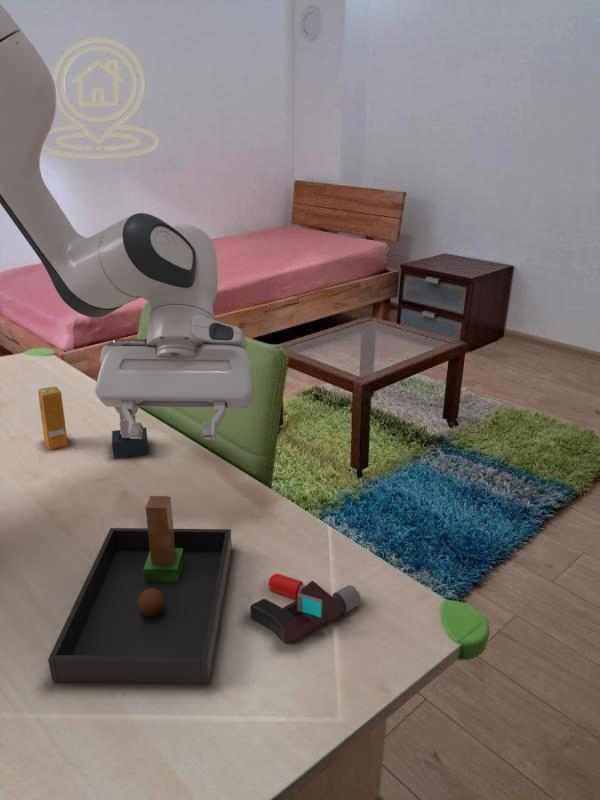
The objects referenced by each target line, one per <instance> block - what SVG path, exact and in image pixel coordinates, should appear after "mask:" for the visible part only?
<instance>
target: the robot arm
mask: <svg viewBox="0 0 600 800" xmlns="http://www.w3.org/2000/svg"><path fill="white" fill-rule="evenodd" d="M56 110H57V89H56V84H55V80H54V78H53V76H52V74H51V72H50V69H49V67H48V65H47V64H46V62H45V60H44V59H43V57H42V56H41V54H40V53H39V51H38V50H37V49H36V48H35V46H34V45H33V44H32V42H31V41H30V40H29V38H28V37H27V36H26V34H25V33H24V31H22V29H21V28H20V26H19V24H17V23H16V21H15V20H14V19H13V17H12V16H11V14H10V13H8V11H7V9H5V8H4V6H3V5H2V4H1V3H0V205H1V207H2V208H3V209H4V211H5V212H6V214H7V215H8V217H9V218H10V219H11V221H12V223H14V225H15V226H16V228H17V229H18V231H19V232H20V233H21V235H22V236H23V237H24V239H25V240H26V242H27V243H28V245H29V246H30V247H31V249H32V250H33V251H34V253H35V254H36V256H37V257H38V259H39V260H40V261H41V264H42V265H43V268H45V270H46V272H47V275H48V276H49V279H50V280H51V282H52V285H53V287H54V289H55V290H56V292H57V294H58V295H59V298H60V299H61V300H62V301H63V302H64V303H65V304H66V305H67V306H68V307H69V308H71V309H72V311H74V312H76V313H78V314H80V315H83V316H85V317H87V318H104V317H105V316H108V315H109V314H111V313H113V312H115V311H116V310H118V309H120V308H122V307H123V306H125V305H126V304H129V303H132V302H135V301H136V300H139V299H143V300H146V301H147V302H148V303H149V305H150V310H149V314H148V322H147V333H146V338H131V339H129V338H128V339H125V338H114V339H113V340H112V341H110V342H108V343H106V344H105V345H104V346H103V347H102V348H101V352H100V359H99V361H100V368H99V371H98V375H97V380H96V384H95V395H96V397H97V398H98V399H99V401H100V402H101V403H102V404H103V405H104V406H105V407H109V408H114V407H122V411H123V413H124V415H125V417H126V419H127V421H128V423H129V426H128V437H129V438H130V439H142V437H143V435H142V432H143V428H144V425H143V424H142V423H141V422H140V421H139V422H138V421H136V422H135V420H136V419H135V420H134V418H133V416H134V415H133V416H132V414H135V415H137V412H138V411H137V407H138V408H183V409H184V408H185V409H186V408H191V409H193V408H194V409H195V408H197V409H203V408H204V409H213V411H214V414H215V415H214V416H213V417H212V419H211V421H210V422H203V426H202V428H203V431H202V438H203V440H212V441H216V440H217V433H218V432H217V430H218V428H219V426H220V425H221V423H222V422H223V421H224V420H225V418H226V416H227V409H248V408H249V407H250V406H251V405H252V404H253V403H254V401H255V389H254V379H253V378H254V377H253V371H252V366H251V365H252V364H251V361H250V357H249V354H248V353H247V342H246V341H247V340H246V338H245V334H244V332H243V330H242V329H241V328H240V327H238V326H235V325H231V324H227V323H224V322H222V321H219V320H216V318H215V314H214V304H215V301H216V299H217V294H218V262H217V261H218V260H217V259H218V258H217V254H216V249H215V245H214V243H213V240H212V239H211V236H209V235H208V234H207V233H206V232H205V231H204V230H202V229H201V228H198V227H196V226H194V225H190V224H185V223H180V224H179V223H178V224H173V225H170V224H169V223H167V222H165V221H164V220H163V219H161V218H159V217H157V216H155V215H152V214H149V213H146V212H137V213H134V214H132V215H130V216H127V217H125V218H123V219H120V220H119V221H117V222H115V223H113V224H110V225H109V226H107V227H106V228H105V229H102V230H101V231H99V232H96V233H94V234H93V235H91V236H89V237H86V236H84V235H81V234H80V233H79V232H77V230H76V229H75V228H74V226H73V225H72V223H71V221H70V220H69V218H68V217H67V215H66V214H65V213H64V210H63V209H62V208H61V206H60V205H59V203H58V201H57V200H56V198H55V197H54V196H53V194H52V193H51V191H50V189H49V188H48V186H47V185H46V183H45V181H44V178H43V176H42V173H41V165H40V164H41V163H40V161H41V154H42V150H43V147H44V144H45V142H46V140H47V137H48V135H49V133H50V131H51V129H52V127H53V123H54V120H55V115H56V112H57V111H56Z"/></svg>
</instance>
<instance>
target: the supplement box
mask: <svg viewBox="0 0 600 800" xmlns="http://www.w3.org/2000/svg"><path fill="white" fill-rule="evenodd" d="M37 390H38V391H37V394H38V401H39V403H38V404H39V409H40V411H39V412H40V419H41V426H42V433H43V434H42V435H43V440H44V444H45V446H46V447H47V448H48V450H49V451H53V450H56V449H59V448H64V447H67V446H69V443H68V435H67V428H66V427H67V426H66V420H65V419H66V418H65V411H64V403H63V397H62V396H63V395H62V391H61V390H60V388H58V387H57V386H48V387H47V386H46V387H43V388H37Z"/></svg>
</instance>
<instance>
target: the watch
mask: <svg viewBox="0 0 600 800" xmlns="http://www.w3.org/2000/svg"><path fill="white" fill-rule="evenodd" d="M113 408H114V409H115V410H116V412H117V414H119V429H117V430H112V431H111V447H112V455H113V460H116V459H117V460H118V459H126V458H127V459H128V458H135V457H143V456H144V457H145V456H149V455H150V453H149V440H148V430H147V427H143V432H142V435H143V437H142V439H130V438H129V437H128V426H129V423H128V421H127V419H126V417H125V415H124V413H123V411H122V407H113ZM138 410H139V407H137V412H138ZM132 416H133V418H134V420H135V422H137V421H136V414H132Z"/></svg>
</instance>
